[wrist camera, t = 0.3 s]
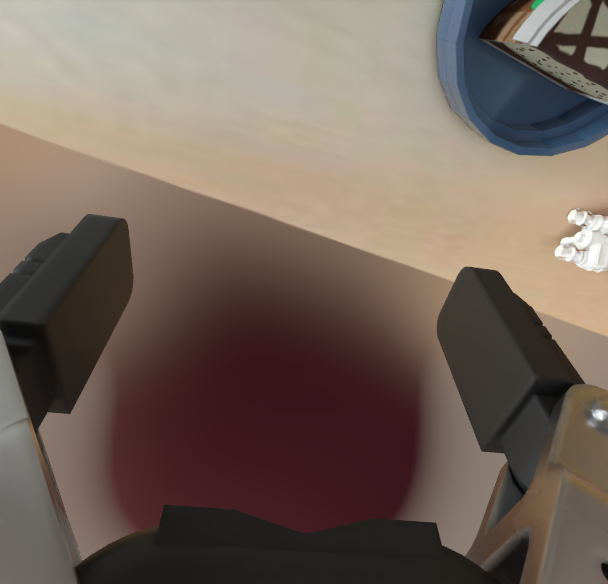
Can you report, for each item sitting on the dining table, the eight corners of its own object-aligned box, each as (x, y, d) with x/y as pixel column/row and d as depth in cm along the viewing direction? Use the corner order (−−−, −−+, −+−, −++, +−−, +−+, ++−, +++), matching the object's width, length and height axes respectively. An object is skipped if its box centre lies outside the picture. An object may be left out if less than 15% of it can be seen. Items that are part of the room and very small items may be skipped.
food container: (639, 17, 32) (764, 26, 24) (579, 97, 35) (672, 129, 27) (516, -68, 28) (614, -92, 20) (462, 29, 32) (529, 42, 23)
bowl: (473, -152, 26) (506, -175, 22) (725, -125, 28) (793, -142, 24) (413, 135, 36) (429, 151, 33) (600, 143, 38) (635, 159, 34)
